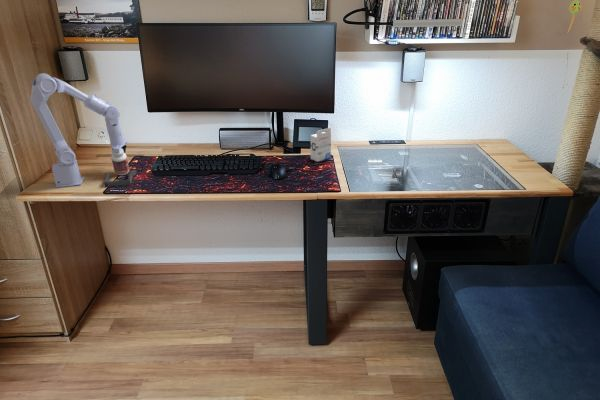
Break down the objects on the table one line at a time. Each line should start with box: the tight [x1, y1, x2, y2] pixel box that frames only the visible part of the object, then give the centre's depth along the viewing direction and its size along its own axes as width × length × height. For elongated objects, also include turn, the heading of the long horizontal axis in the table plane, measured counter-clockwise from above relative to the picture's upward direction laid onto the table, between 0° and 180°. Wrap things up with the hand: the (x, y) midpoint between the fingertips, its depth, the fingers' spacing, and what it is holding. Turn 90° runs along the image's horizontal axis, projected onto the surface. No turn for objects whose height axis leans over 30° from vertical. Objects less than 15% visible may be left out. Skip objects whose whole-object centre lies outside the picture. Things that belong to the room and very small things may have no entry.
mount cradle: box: [103, 169, 138, 188], centre depth 185 cm, size 13×12×2 cm
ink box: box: [310, 127, 332, 163], centre depth 203 cm, size 9×5×15 cm, turn 126°
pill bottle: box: [111, 148, 130, 176], centre depth 189 cm, size 6×6×11 cm
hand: (123, 162), depth 193 cm, fingers closed, pressing on pill bottle
